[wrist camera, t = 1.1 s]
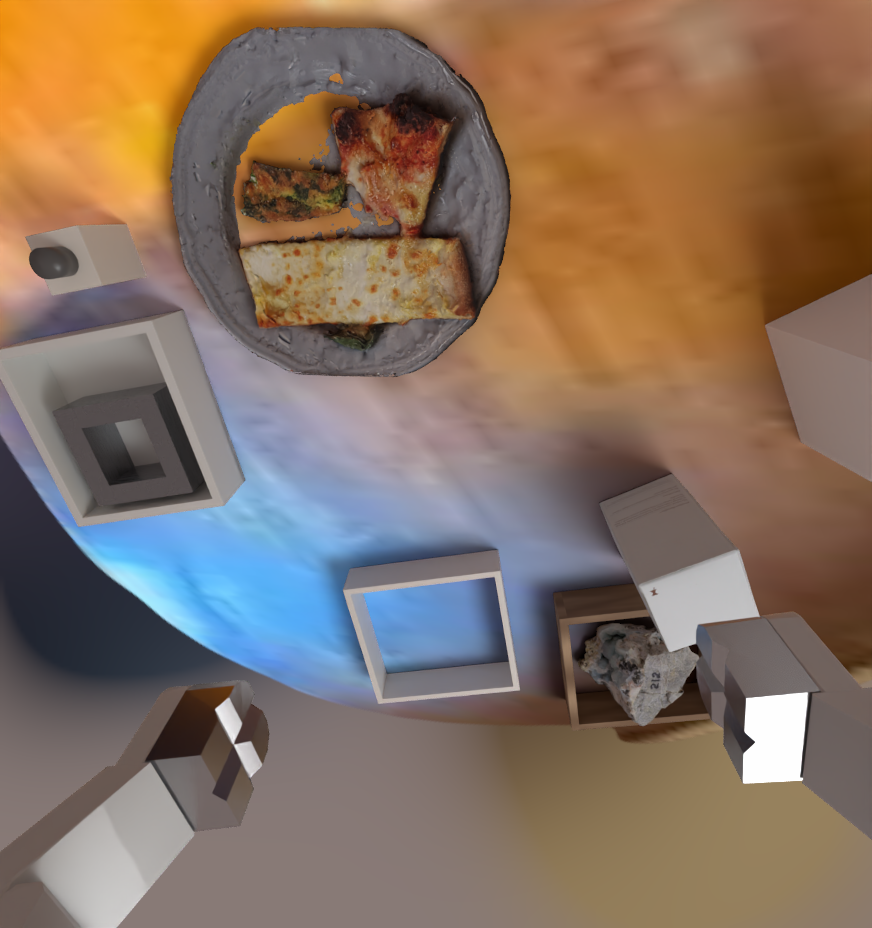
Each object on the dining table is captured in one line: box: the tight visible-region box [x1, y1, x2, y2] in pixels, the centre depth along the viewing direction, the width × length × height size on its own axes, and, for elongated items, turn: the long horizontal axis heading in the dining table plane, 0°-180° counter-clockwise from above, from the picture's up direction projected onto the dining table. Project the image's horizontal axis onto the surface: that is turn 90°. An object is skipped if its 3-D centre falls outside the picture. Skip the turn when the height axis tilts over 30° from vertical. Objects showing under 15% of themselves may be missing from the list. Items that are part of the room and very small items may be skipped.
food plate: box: [170, 27, 511, 377], centre depth 40 cm, size 25×23×4 cm
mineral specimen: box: [578, 623, 699, 726], centre depth 55 cm, size 10×8×10 cm
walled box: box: [0, 310, 245, 527], centre depth 47 cm, size 16×14×5 cm
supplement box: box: [599, 474, 760, 652], centre depth 45 cm, size 7×7×13 cm
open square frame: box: [343, 550, 520, 704], centre depth 56 cm, size 15×15×4 cm
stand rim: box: [553, 583, 711, 730], centre depth 55 cm, size 15×15×4 cm
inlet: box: [52, 382, 205, 506], centre depth 47 cm, size 9×9×4 cm
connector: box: [26, 224, 147, 296], centre depth 40 cm, size 4×4×8 cm
